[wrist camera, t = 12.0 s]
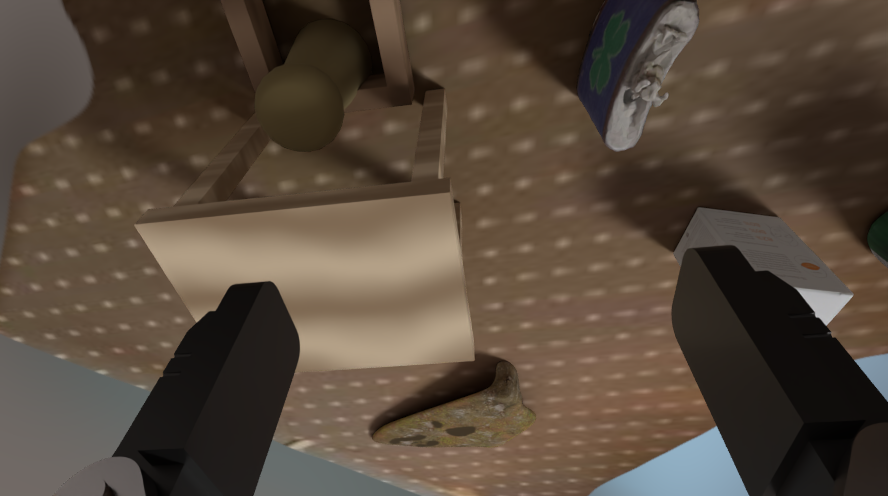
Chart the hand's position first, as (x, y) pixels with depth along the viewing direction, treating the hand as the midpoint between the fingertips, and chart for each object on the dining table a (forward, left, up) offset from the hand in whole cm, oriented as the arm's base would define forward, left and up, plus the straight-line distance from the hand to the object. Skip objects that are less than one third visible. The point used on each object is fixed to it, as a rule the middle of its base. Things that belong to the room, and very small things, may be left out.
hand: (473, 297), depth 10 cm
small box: (+23, +22, -30) cm, 44 cm away
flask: (+4, +10, -30) cm, 32 cm away
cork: (+3, -10, -30) cm, 32 cm away
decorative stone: (+52, -6, -31) cm, 60 cm away
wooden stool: (+16, -10, -30) cm, 35 cm away
